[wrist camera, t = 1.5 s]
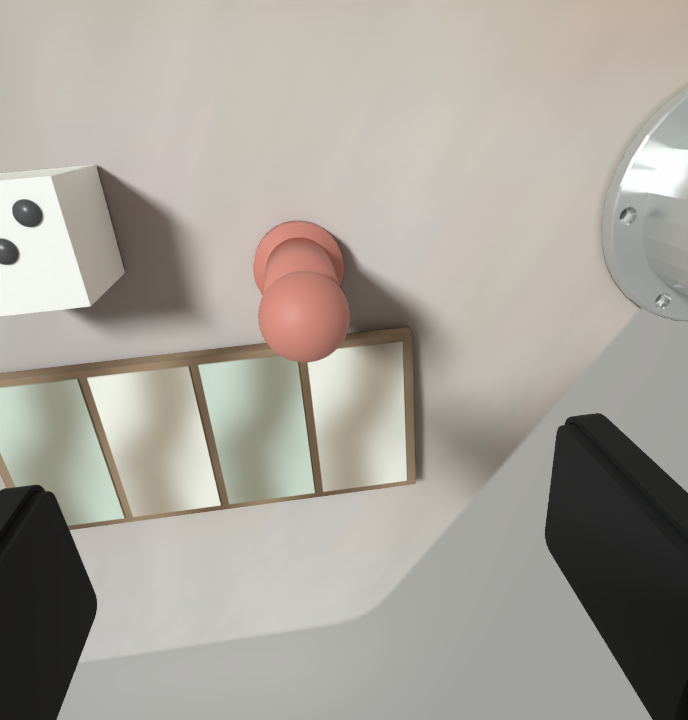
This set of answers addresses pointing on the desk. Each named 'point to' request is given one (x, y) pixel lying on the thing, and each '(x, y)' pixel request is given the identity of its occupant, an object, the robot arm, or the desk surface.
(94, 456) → the board
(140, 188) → the desk surface
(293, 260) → the pawn
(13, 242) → the die
